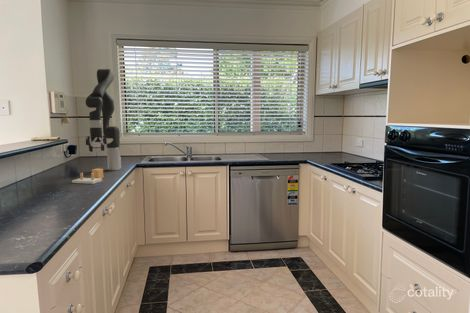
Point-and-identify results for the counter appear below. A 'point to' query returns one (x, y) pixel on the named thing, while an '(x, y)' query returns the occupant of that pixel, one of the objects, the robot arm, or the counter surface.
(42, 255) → the counter surface
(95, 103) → the robot arm
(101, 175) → the light orange block
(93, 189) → the counter surface
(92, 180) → the base
